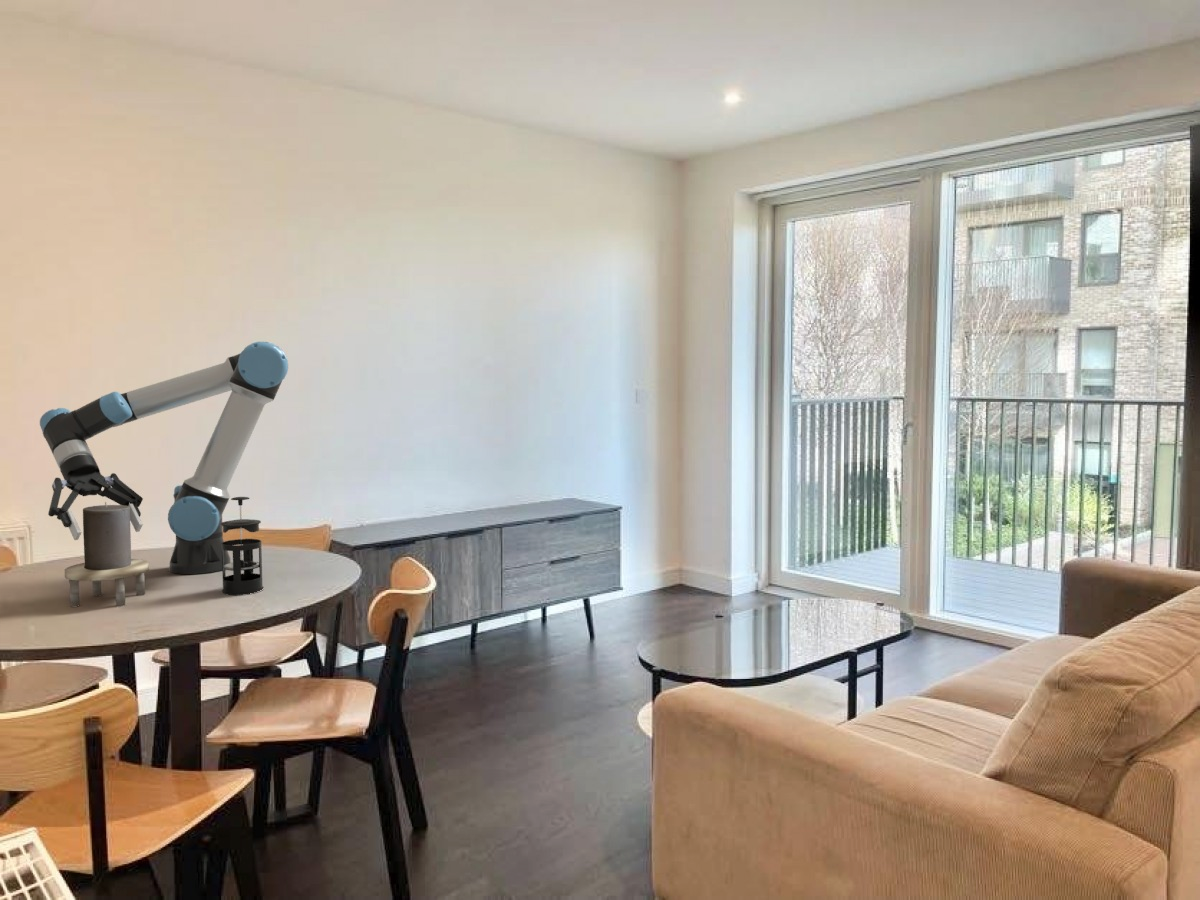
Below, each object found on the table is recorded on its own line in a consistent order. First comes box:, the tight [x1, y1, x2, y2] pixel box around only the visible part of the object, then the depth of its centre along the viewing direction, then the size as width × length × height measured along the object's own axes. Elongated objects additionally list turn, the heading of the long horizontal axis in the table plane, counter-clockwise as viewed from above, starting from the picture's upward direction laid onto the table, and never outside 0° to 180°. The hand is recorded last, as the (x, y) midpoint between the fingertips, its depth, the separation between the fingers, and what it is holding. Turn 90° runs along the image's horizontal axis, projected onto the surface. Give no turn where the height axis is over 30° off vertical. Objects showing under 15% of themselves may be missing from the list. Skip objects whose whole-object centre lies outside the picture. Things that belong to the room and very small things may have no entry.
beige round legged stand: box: [64, 558, 150, 607], centre depth 202 cm, size 17×17×8 cm
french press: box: [221, 496, 264, 596], centre depth 212 cm, size 12×9×23 cm
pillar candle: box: [82, 501, 132, 570], centre depth 202 cm, size 10×10×15 cm
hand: (109, 532), depth 200 cm, fingers open, 13 cm apart
